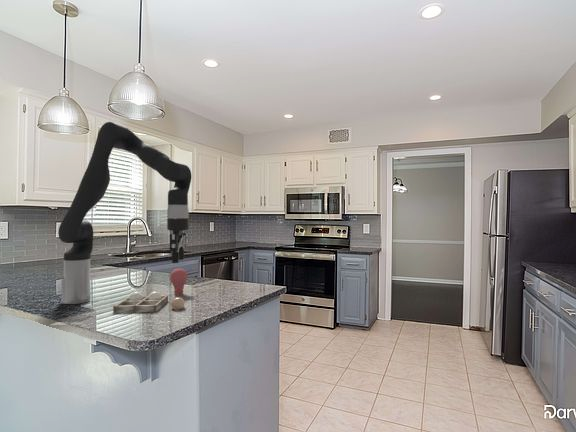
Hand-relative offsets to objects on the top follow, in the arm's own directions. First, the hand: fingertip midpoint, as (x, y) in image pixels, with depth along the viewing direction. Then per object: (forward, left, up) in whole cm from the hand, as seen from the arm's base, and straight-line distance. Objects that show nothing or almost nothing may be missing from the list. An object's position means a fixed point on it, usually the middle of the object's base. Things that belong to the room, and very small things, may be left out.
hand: (178, 261), depth 125 cm
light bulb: (-5, +22, -18) cm, 29 cm away
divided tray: (-14, +3, -18) cm, 23 cm away
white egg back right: (-11, +7, -17) cm, 21 cm away
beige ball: (0, 0, -18) cm, 18 cm away
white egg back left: (-18, +7, -17) cm, 26 cm away
